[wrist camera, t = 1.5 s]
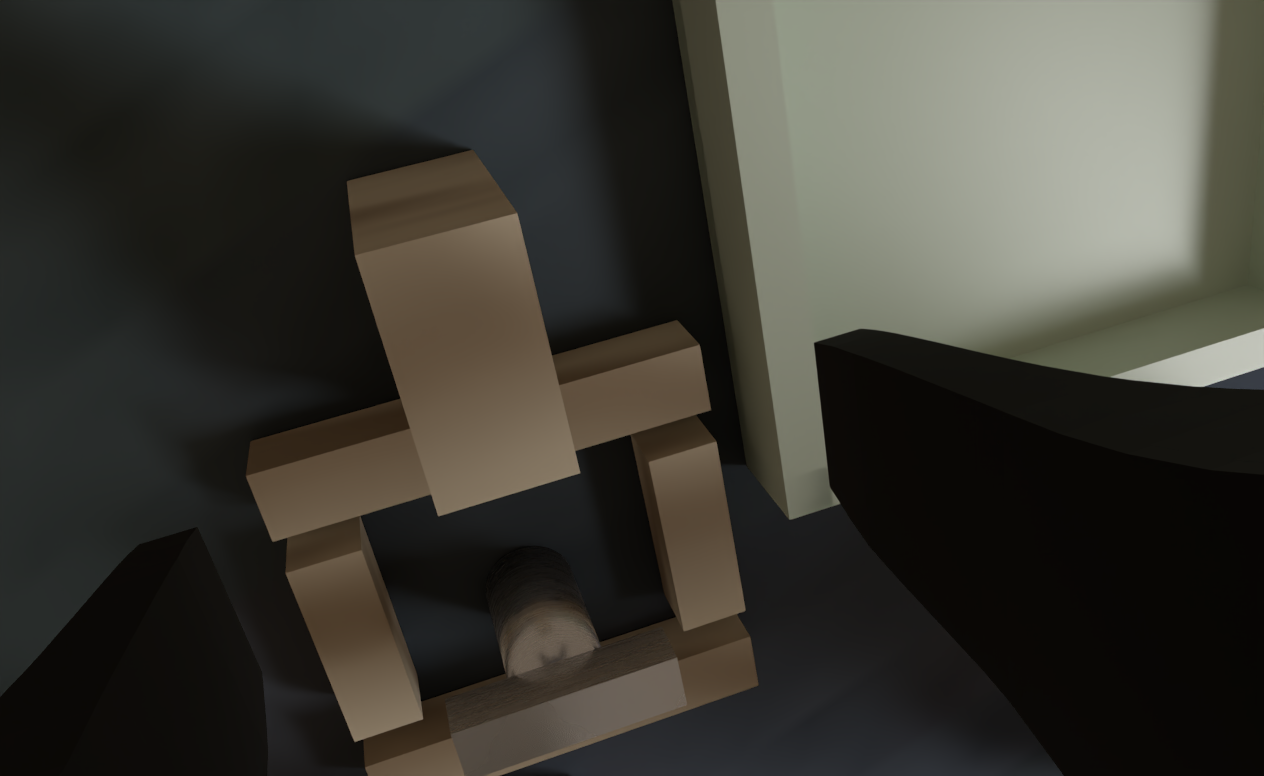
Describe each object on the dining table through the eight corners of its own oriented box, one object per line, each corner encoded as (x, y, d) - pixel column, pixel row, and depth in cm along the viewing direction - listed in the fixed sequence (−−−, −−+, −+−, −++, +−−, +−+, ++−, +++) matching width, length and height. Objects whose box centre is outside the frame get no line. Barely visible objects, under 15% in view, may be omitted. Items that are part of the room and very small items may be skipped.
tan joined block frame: (736, 647, 26) (820, 792, 22) (381, 768, 25) (395, 950, 20) (638, 108, 20) (727, 158, 16) (164, 226, 19) (117, 317, 14)
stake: (629, 589, 25) (690, 720, 21) (446, 649, 24) (472, 796, 20) (612, 519, 24) (673, 640, 20) (422, 579, 23) (444, 718, 19)
